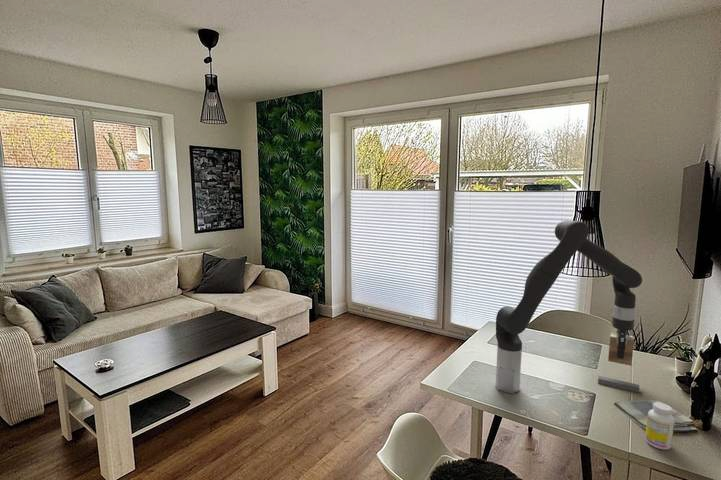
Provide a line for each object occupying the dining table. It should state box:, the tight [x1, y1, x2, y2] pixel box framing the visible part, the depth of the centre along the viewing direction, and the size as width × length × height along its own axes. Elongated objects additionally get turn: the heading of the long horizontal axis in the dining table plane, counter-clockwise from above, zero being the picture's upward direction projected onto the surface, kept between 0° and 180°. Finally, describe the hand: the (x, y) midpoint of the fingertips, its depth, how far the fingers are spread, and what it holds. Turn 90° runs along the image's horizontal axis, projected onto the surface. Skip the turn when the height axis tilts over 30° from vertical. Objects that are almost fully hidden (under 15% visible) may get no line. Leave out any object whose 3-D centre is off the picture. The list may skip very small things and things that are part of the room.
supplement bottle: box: [644, 402, 675, 450], centre depth 121 cm, size 7×7×13 cm
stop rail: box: [597, 375, 640, 394], centre depth 157 cm, size 3×14×2 cm, turn 57°
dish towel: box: [613, 399, 700, 434], centre depth 136 cm, size 19×18×3 cm
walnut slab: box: [607, 332, 635, 367], centre depth 160 cm, size 4×8×11 cm, turn 57°
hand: (620, 355), depth 160 cm, fingers closed on walnut slab, 4 cm apart
